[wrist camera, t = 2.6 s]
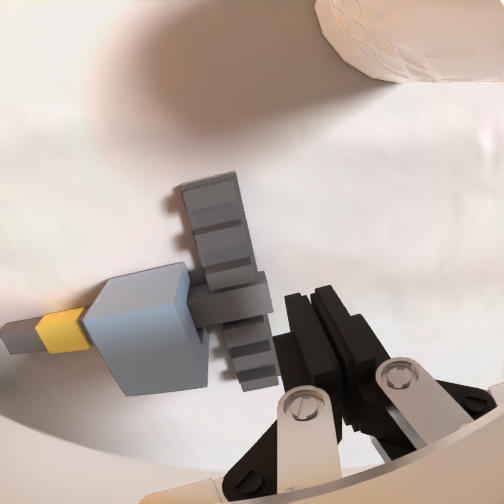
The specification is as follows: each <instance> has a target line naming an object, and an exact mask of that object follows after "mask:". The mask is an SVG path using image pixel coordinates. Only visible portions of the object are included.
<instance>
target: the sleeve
mask: <svg viewBox="0 0 504 504" xmlns="http://www.w3.org/2000/svg"><path fill="white" fill-rule="evenodd" d="M189 285H190V278H189V275H188V272H187V269H186V266H185V262H182V263H178V264H173V265H169V266H164V267H160V268H156V269H151V270H147V271H142V272H138V273H134V274H129V275H125V276H121V277H116V278H112V279H109V280H108V282H107V283H106V285H105V286H104V288H103V289H102V291H101V292H100V294H99V295H98V297H97V298H96V300H95V301H94V303H93V304H92V306H91V307H90V309H89V310H88V312H87V314H86V315H85V317H84V318H83V322H84V324H85V326H86V328H87V330H88V332H89V334H90V336H91V338H92V340H93V342H94V343H95V345H96V347H97V349H98V351H99V352H100V354H101V356H102V358H103V360H104V361H105V363H106V365H107V366H108V368H109V370H110V372H111V373H112V375H113V377H114V378H115V380H116V381H117V383H118V385H119V386H120V388H121V390H122V391H123V393H124V394H125V396H138V395H148V394H158V393H166V392H175V391H182V390H190V389H197V388H203V387H207V383H208V357H209V334H208V332H207V329H206V326H205V327H200V328H195V326H194V323H193V320H192V317H191V315H190V312H189V309H188V306H187V303H186V301H187V295H188V290H189Z"/></svg>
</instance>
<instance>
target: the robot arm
mask: <svg viewBox="0 0 504 504" xmlns="http://www.w3.org/2000/svg"><path fill="white" fill-rule="evenodd" d="M310 297H311V303H310V301H309V299H308V297H307V295H304V296H301V294H300V293H295V294H291V295H287V296H284V298H285V304H286V310H287V315H288V321H289V326H290V332H289V333H285V334H281V335H277V336H273V337H272V339H273V343H274V348H275V352H276V357H277V361H278V365H279V369H280V374H281V378H282V382H283V386H284V390H285V394H284V395H283V396H282V397H281V399H280V400H279V402H278V407H277V420H276V421H275V422H274V423H273V424H272V425H271V427H270V428H269V429H268V430H267V431H266V432H265V433H264V434H263V435H262V437H261V438H260V439H259V440H258V441H257V442H256V443H255V444H254V445H253V446H252V447H251V449H250V450H249V451H248V452H247V453H246V454H245V455H244V456H243V457H242V458H241V459H240V460H239V461H238V462H237V463H236V464H235V465H234V466H233V467H232V468H231V469H230V470H229V471H228V473H227V474H226V475H225V477H222V478H219V479H216V480H213V479H212V478H210V479H207V480H203V481H200V482H196V483H193V484H189V485H185V486H182V487H178V488H174V489H170V490H165V491H161V492H156V493H153V494H150V495H147V496H146V497H145V498H143V499H142V500H141V501H140V503H139V504H504V382H502V383H500V384H497V385H493V386H490V387H489V388H488V390H487V391H485V390H482V389H479V388H474V387H469V386H464V385H459V384H454V383H449V382H445V381H440V380H435V379H434V378H433V377H432V376H431V375H430V374H429V373H428V372H427V371H426V370H425V369H424V368H423V367H422V366H421V365H420V364H418V363H417V362H416V361H414V360H412V359H409V358H404V357H397V358H392V359H391V358H390V356H389V355H388V353H387V352H386V350H385V349H384V347H383V346H382V344H381V343H380V341H379V340H378V338H377V337H376V335H375V334H374V332H373V331H372V329H371V328H370V326H369V325H368V323H367V322H366V320H365V319H364V317H363V316H362V315H361V314H356V315H353V316H350V314H349V313H348V311H347V310H346V308H345V306H344V305H343V303H342V302H341V300H340V299H339V297H338V295H337V294H336V292H335V291H334V289H333V288H332V286H331V285H327V286H323V287H320V288H316V289H315V293H312V294H310ZM342 417H343V420H344V422H345V424H346V426H348V425H352V428H353V430H354V432H357V431H361V433H364V434H367V435H370V439H371V442H372V443H373V445H374V446H375V448H376V449H377V451H378V452H379V454H380V455H381V457H382V458H383V460H384V461H385V464H382V465H380V466H377V467H374V468H372V469H369V470H366V471H363V472H360V473H357V474H354V475H351V476H348V477H344V478H342V474H341V467H340V459H339V452H338V444H339V442H340V441H341V439H342Z"/></svg>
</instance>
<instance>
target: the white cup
mask: <svg viewBox="0 0 504 504" xmlns="http://www.w3.org/2000/svg"><path fill="white" fill-rule="evenodd" d="M314 7H315V10H316V13H317V17H318V20H319V23H320V26H321V30H322V33H323V36H324V37H325V38H326V39H327V40H328V42H329V43H330V44H331V45H332V46H333V48H334V49H335V50H336V51H337V53H338V54H339V55H340V57H341V58H342V59H343V60H344V61H345V62H347V63H348V64H350V65H352V66H353V67H355V68H356V69H358V70H360V71H361V72H363V73H364V74H366V75H367V76H369V77H371V78H373V79H379V80H385V81H390V82H395V83H410V82H434V83H451V82H457V83H480V84H504V0H316V2H315V6H314Z"/></svg>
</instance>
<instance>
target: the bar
mask: <svg viewBox="0 0 504 504" xmlns="http://www.w3.org/2000/svg"><path fill="white" fill-rule="evenodd" d="M258 275H259V277H257V278H255V281H254V282H249V283H245V284H240V285H236V286H231V287H226V288H222V289H217V290H213V291H210V288H208V285H207V284H203V285H198V286H194V287H189V290H188V295H187V301H186V303H187V306H188V309H189V312H190V315H191V317H192V320H193V323H194V326H195V328H200V327H205V326H210V325H215V324H220V323H225V322H230V321H235V320H240V319H244V318H249V317H254V316H258V315H263V314H267V313H272V312H273V308H272V303H271V298H270V293H269V289H268V284H267V280H266V276H265V273H264V271H262V272H258ZM89 309H90V308H86V309H85V307H82V308H77V309H72V310H67V311H62V312H56V313H51V314H46V315H44V317H38V318H33V319H27V320H22V321H16V322H11V323H7V324H6V325H5V326H4V327H3V329H2V330H1V331H0V337H1V339H2V341H3V342H4V344H5V346H6V347H7V349H8V351H9V352H10V354H19V353H30V352H40V351H48V352H49V353H50V354H53V353H62V352H71V351H79V350H87V349H90V348H91V346H92V345H95V343H94V342H93V340H92V338H91V336H90V334H89V332H88V330H87V328H86V326H85V324H84V322H83V318H84V317H85V315H86V314H87V312H88V310H89Z"/></svg>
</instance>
